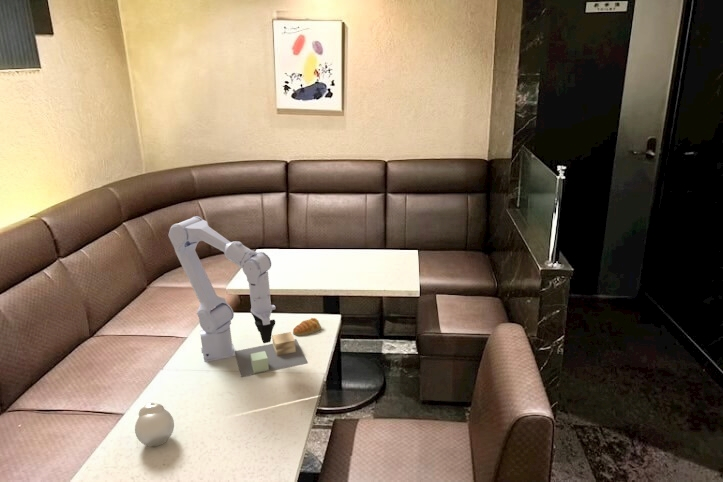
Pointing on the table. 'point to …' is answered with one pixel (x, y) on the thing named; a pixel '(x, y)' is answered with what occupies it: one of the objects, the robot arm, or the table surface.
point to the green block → (259, 361)
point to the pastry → (307, 327)
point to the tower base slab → (284, 350)
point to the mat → (269, 359)
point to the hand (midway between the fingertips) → (264, 336)
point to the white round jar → (154, 425)
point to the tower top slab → (283, 340)
